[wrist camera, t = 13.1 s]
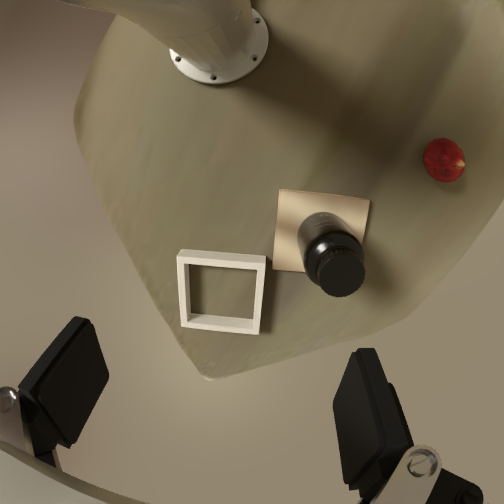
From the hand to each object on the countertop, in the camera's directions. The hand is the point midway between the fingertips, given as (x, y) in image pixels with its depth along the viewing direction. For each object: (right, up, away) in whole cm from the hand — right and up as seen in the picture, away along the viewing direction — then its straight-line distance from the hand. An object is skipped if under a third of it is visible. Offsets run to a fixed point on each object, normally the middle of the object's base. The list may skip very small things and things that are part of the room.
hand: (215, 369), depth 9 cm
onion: (+26, +17, +24) cm, 40 cm away
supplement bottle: (+11, +6, +29) cm, 31 cm away
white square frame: (-3, -1, +34) cm, 34 cm away
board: (+10, +7, +30) cm, 32 cm away
